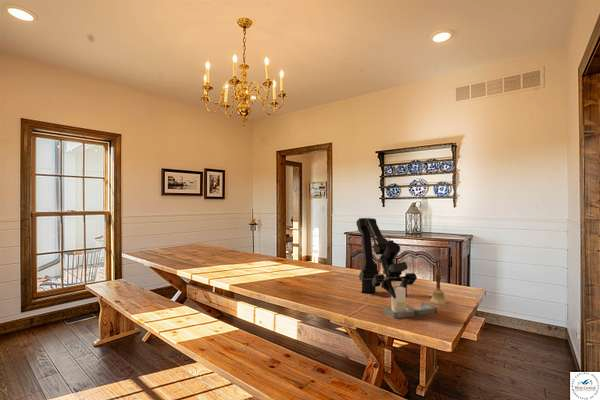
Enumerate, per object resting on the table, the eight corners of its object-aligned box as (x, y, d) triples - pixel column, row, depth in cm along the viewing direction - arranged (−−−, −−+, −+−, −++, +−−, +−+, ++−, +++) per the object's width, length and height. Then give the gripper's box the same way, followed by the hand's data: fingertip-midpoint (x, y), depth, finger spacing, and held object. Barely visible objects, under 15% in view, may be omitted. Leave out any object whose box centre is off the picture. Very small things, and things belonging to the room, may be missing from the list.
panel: (395, 321, 127) (395, 314, 127) (380, 312, 137) (380, 305, 137) (438, 315, 133) (438, 308, 133) (421, 306, 144) (421, 300, 144)
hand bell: (425, 300, 153) (425, 267, 153) (442, 299, 154) (441, 266, 154) (434, 306, 145) (434, 271, 145) (451, 305, 145) (451, 270, 145)
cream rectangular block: (391, 309, 135) (391, 286, 135) (401, 308, 136) (401, 285, 136) (395, 312, 131) (395, 288, 131) (406, 312, 132) (405, 288, 132)
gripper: (374, 256, 135) (385, 289, 124) (414, 254, 138) (428, 286, 127) (367, 270, 143) (377, 302, 132) (406, 268, 146) (418, 299, 135)
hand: (400, 297), depth 132 cm, fingers closed on cream rectangular block, 4 cm apart
